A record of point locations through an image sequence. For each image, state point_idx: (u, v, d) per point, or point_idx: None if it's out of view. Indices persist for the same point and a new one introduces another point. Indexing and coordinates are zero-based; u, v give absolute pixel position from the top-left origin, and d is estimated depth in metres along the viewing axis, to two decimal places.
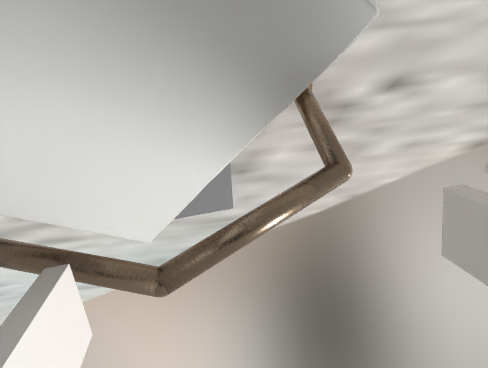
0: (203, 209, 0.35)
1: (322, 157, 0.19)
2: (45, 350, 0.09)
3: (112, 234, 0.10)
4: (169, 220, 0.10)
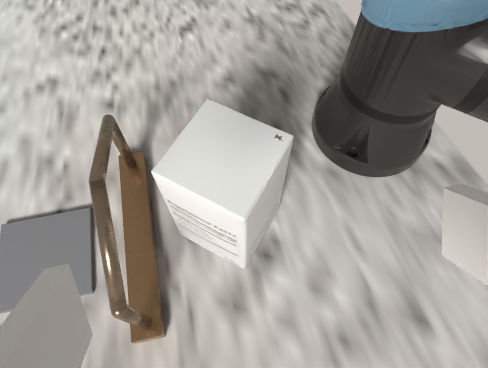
0: (2, 283, 0.37)
1: None
2: (45, 350, 0.09)
3: (161, 160, 0.28)
4: (165, 177, 0.27)
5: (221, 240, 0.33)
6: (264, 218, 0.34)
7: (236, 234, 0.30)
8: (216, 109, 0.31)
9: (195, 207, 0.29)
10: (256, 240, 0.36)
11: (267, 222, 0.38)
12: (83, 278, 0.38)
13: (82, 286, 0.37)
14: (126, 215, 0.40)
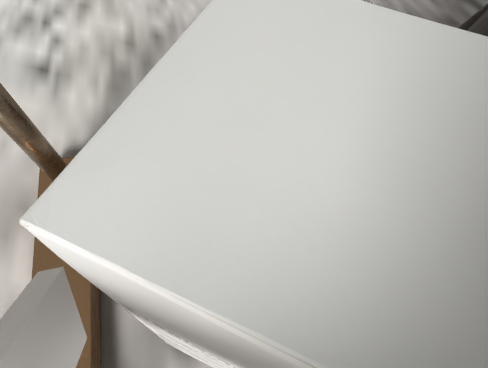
0: None
1: None
2: (37, 355, 0.09)
3: (73, 166, 0.06)
4: (92, 248, 0.05)
5: None
6: None
7: None
8: None
9: (233, 358, 0.07)
10: None
11: None
12: None
13: None
14: None
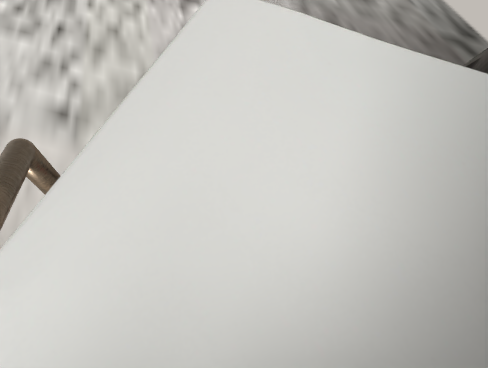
0: None
1: None
2: None
3: None
4: None
5: None
6: None
7: None
8: (258, 21, 0.07)
9: None
10: None
11: None
12: None
13: None
14: None
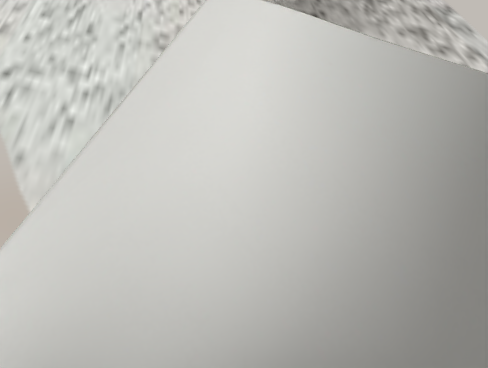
0: None
1: None
2: None
3: None
4: None
5: None
6: None
7: None
8: (258, 20, 0.07)
9: None
10: None
11: None
12: None
13: None
14: None
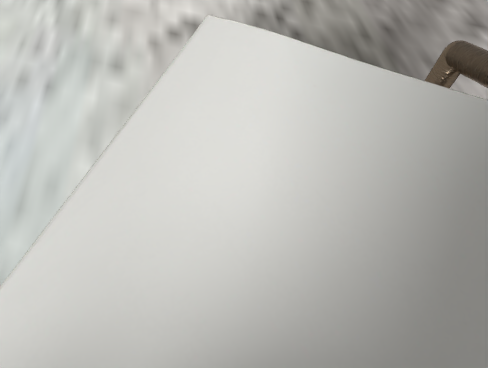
0: None
1: None
2: None
3: (1, 295, 0.05)
4: None
5: None
6: None
7: None
8: (248, 46, 0.08)
9: None
10: None
11: None
12: None
13: None
14: None
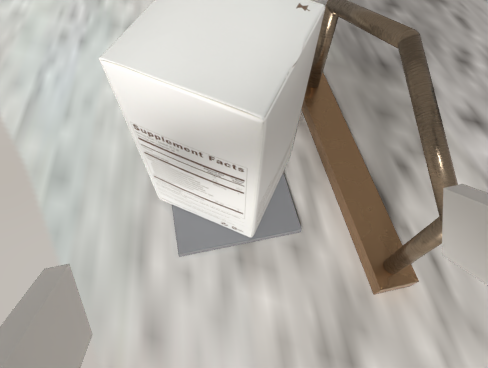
0: (182, 218, 0.29)
1: None
2: (45, 350, 0.09)
3: (115, 42, 0.17)
4: (124, 64, 0.16)
5: (219, 187, 0.22)
6: (280, 153, 0.23)
7: (244, 164, 0.19)
8: None
9: (177, 120, 0.18)
10: (268, 191, 0.25)
11: (280, 168, 0.27)
12: (286, 213, 0.29)
13: (287, 223, 0.29)
14: (325, 140, 0.32)
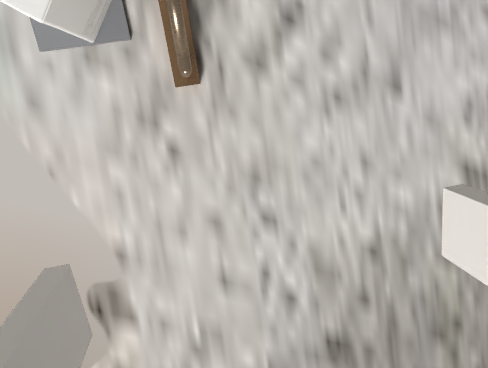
0: None
1: None
2: (45, 350, 0.09)
3: None
4: None
5: None
6: None
7: None
8: None
9: None
10: (92, 18, 0.35)
11: None
12: (119, 25, 0.40)
13: (120, 33, 0.40)
14: None
